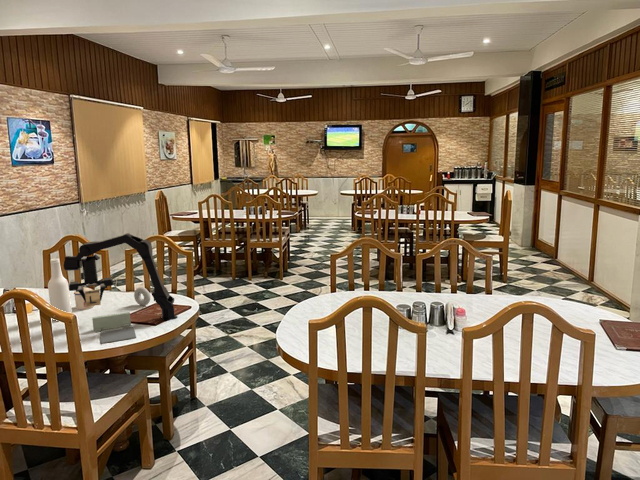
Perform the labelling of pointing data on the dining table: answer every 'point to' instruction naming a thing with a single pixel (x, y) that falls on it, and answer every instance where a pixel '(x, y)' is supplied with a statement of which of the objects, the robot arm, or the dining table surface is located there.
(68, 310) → the white bottle
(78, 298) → the teacup with lid
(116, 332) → the charcoal pad
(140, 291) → the donut
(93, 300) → the marked cube
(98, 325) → the sage screen
